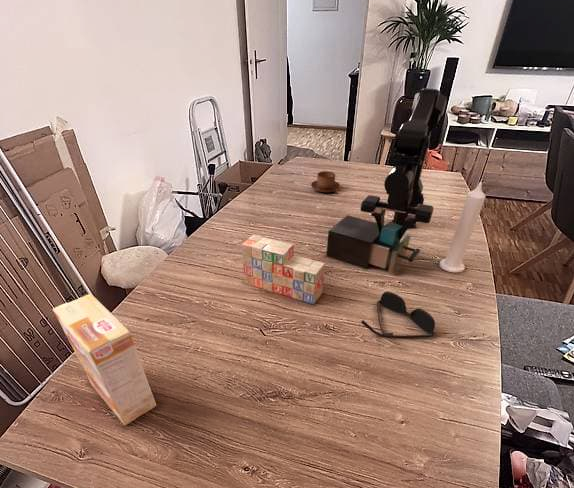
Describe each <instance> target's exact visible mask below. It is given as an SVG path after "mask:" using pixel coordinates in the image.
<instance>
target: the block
mask: <svg viewBox="0 0 574 488" xmlns="http://www.w3.org/2000/svg"><path fill="white" fill-rule="evenodd" d="M402 228H403V226H401V225H398V224H395V223H393V222H392V221H388V222H387V223H385V224H384V226H382V229H381V235H380V240H379V241H381V242H384V243H386V244H389V245H392V246H393V245H394V244H396V243H397V242H399V241H400V242H401V240H399V237H400V234H401V231H402Z"/></svg>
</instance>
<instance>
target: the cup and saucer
mask: <svg viewBox="0 0 574 488" xmlns="http://www.w3.org/2000/svg"><path fill="white" fill-rule="evenodd" d="M316 177H317V179H316V180H314V181H312V182H311V184H310V185H311V188H312V189H313V190H315V192H319V193H333V192H336V191H338V190H339V189H340V187H341V184H340V183H339V182H338V181H336V173H335V172H332V171H325V170H324V171H319V172H317V175H316Z"/></svg>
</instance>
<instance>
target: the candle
mask: <svg viewBox="0 0 574 488" xmlns="http://www.w3.org/2000/svg"><path fill="white" fill-rule="evenodd" d="M482 185H483V182H482V181H480V182H479V183H478V184H477V186H476V188H475V189H473V190H470V191H469V192H467V194H466V197H465V199H464V203H463V205H462V209H461V213H460V215H459V218H458V221H457V224H456V227H455V230H454V233H453V236H452V239H451V242H450V245H449V247H448V251H447V253H446V254H447V255H446V257H445V258H443V259H441V260H440V261H439V267H440V268H441V269H442V270H443V271H445V272H449V273H453V274H455V273H456V274H457V273H461V272H464V270H465V268H466V267H465V264H464V263H463V260H464V258H465V254H466V251H467V249H468V247H469V244H470V240H471V238H472V236H473V233H474V230H475V228H476V224H477V221H478V219H479V216H480V214H481V210H482V208H483V205H484V202H485V200H486V194H485V193H484V192H483V190H482V189H483V187H482Z"/></svg>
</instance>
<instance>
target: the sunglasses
mask: <svg viewBox="0 0 574 488" xmlns="http://www.w3.org/2000/svg"><path fill="white" fill-rule="evenodd" d="M379 305H381V306H383V307H384V308H386V309H389V310H390V311H393V312H395V313H397V314H401V315H403V316H406V317H407V318H409V319H410V320H411V321H412V322H413V323H414V324H415V325H417V327H419V328H420V329H421V330H423V331H424V332H425V333H427V334H411V335H410V334H409V335H408V334H407V335H402V334H401V335H399V334H398V335H395V334H394V332H385V331H384V329H383V327H382V323H381V319H380V309H379ZM376 313H377V320H378V325H379V328H380V331H381V332H378V331H376V330H375V329H374V328H372V327H371V325H369V324H368V323H367V322H366V321H365V320H364V319H362V320H361V324H362V325H363V326H364V327H365V328H367V329H368V330H369V331H370V332H371V333H373V334H374V335H377V336H379V337H383V338H393V339H419V338H420V339H421V338H432V337H434V336H435V335H436V334H435V328H436V321H435V318H434V317H433V316H432V315H431V314H430V313H429V312H427V311H426V310H424V309H422V308H418V307H417V308H415V309H413V310H412V311H411V312H410V313H409V312H408V311H407V305H406V301H405V300H404V298H403V297H401V296H400V295H398V294H396V293H394V292H391V291H384V292H383V293H382V294H381V296H380V299H379V300H377V301H376Z"/></svg>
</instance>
